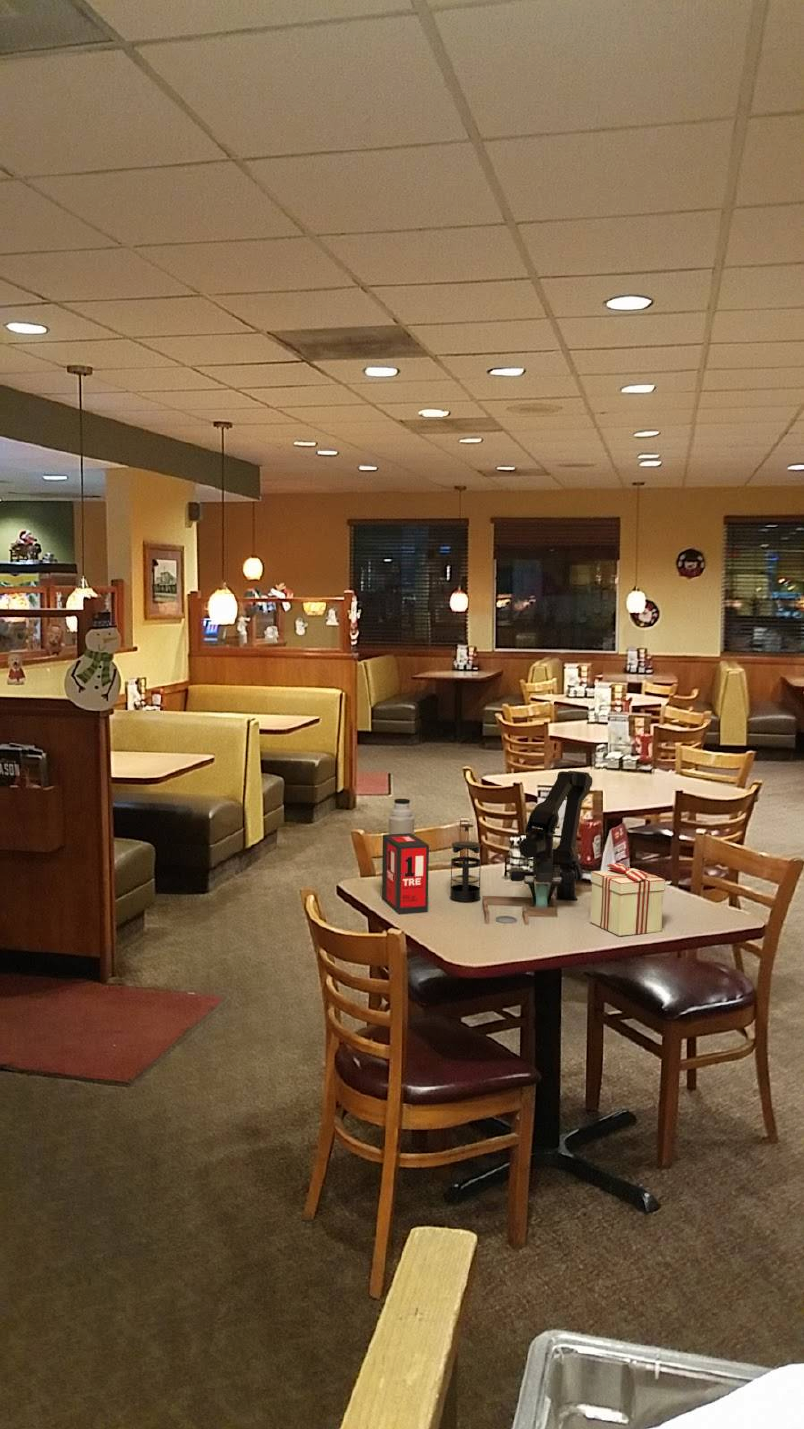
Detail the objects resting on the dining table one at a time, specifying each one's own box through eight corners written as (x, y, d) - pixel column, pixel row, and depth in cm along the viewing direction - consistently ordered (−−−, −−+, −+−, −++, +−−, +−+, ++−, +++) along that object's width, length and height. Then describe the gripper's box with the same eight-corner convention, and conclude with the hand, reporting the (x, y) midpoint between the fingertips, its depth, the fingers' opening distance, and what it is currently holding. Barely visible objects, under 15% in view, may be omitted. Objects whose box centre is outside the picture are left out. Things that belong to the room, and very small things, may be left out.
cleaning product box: (427, 912, 320) (429, 845, 318) (398, 914, 318) (399, 846, 316) (409, 897, 336) (410, 833, 334) (381, 899, 333) (382, 834, 331)
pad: (494, 916, 317) (495, 915, 317) (515, 917, 317) (515, 916, 317) (496, 922, 311) (496, 921, 311) (517, 923, 311) (517, 922, 311)
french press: (480, 904, 330) (482, 828, 327) (449, 903, 330) (451, 827, 328) (479, 893, 342) (481, 820, 339) (449, 892, 342) (451, 819, 339)
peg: (534, 909, 325) (535, 882, 324) (546, 909, 325) (547, 882, 324) (535, 912, 322) (536, 885, 321) (547, 912, 322) (548, 886, 321)
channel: (482, 904, 330) (482, 895, 330) (552, 905, 329) (552, 897, 329) (485, 923, 310) (485, 915, 310) (560, 925, 309) (560, 916, 309)
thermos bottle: (382, 885, 349) (384, 798, 346) (402, 881, 354) (403, 796, 351) (398, 891, 343) (400, 802, 340) (418, 887, 348) (419, 799, 345)
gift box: (673, 930, 307) (676, 869, 305) (622, 939, 298) (624, 876, 296) (633, 914, 322) (635, 856, 320) (582, 922, 313) (584, 863, 311)
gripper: (513, 857, 314) (511, 910, 315) (578, 858, 313) (576, 912, 315) (510, 848, 325) (508, 900, 327) (573, 849, 324) (571, 901, 326)
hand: (541, 903), depth 323 cm, fingers closed on peg, 3 cm apart
